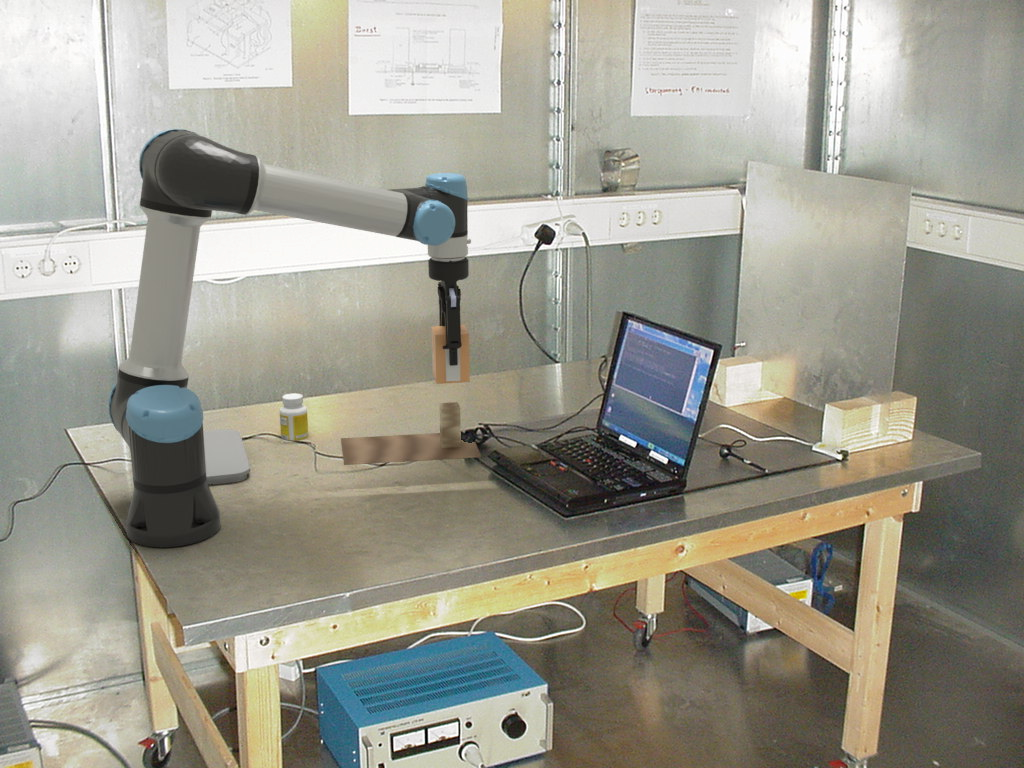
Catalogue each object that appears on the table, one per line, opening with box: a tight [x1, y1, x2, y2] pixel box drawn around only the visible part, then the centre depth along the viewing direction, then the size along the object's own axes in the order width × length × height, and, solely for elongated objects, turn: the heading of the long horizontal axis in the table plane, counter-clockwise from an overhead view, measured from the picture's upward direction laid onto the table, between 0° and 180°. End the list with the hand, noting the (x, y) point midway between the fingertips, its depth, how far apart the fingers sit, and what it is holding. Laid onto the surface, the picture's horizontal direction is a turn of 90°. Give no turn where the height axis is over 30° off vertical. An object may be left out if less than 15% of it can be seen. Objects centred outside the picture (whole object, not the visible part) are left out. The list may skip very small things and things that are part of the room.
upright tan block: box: [431, 324, 471, 385], centre depth 236 cm, size 6×6×10 cm
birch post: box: [439, 401, 462, 448], centre depth 240 cm, size 4×4×8 cm
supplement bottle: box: [279, 392, 309, 441], centre depth 244 cm, size 5×5×10 cm
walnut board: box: [340, 432, 482, 466], centre depth 239 cm, size 26×15×2 cm, turn 100°
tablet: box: [203, 428, 251, 486], centre depth 235 cm, size 16×26×2 cm, turn 17°
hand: (450, 375), depth 237 cm, fingers closed on upright tan block, 6 cm apart
